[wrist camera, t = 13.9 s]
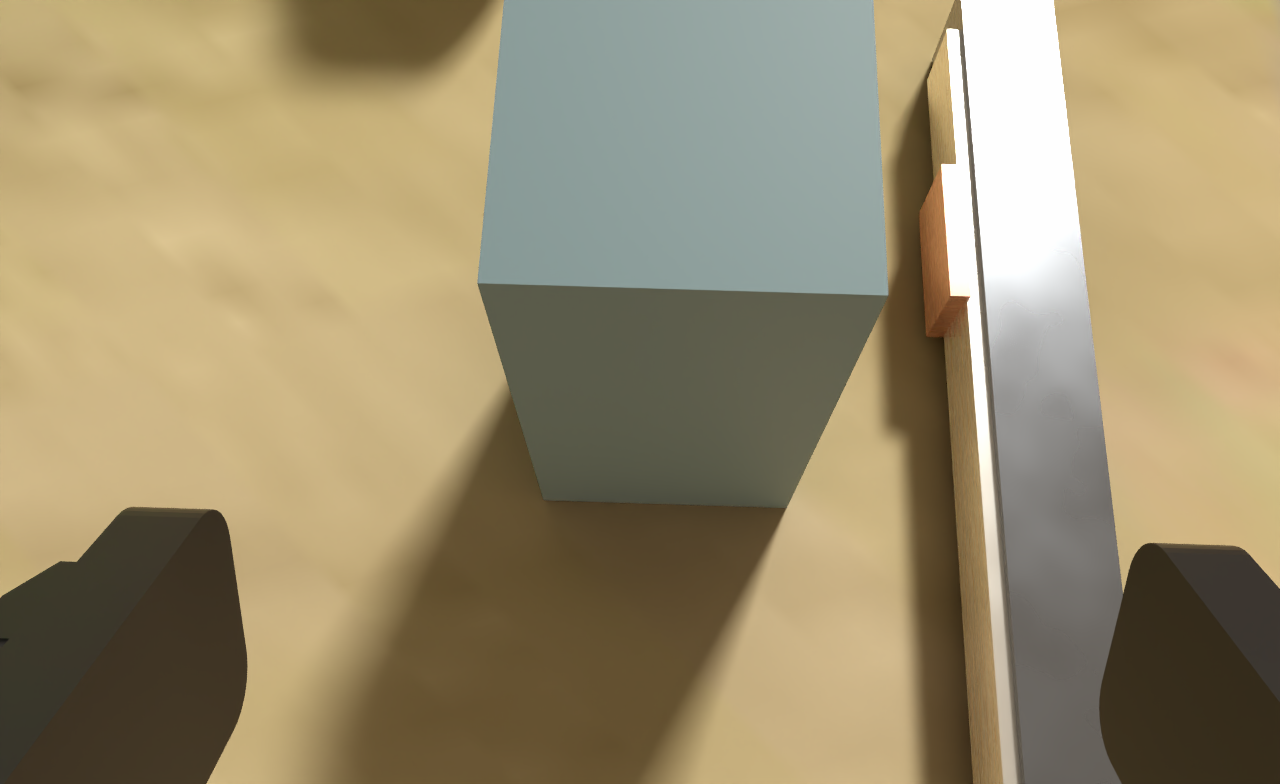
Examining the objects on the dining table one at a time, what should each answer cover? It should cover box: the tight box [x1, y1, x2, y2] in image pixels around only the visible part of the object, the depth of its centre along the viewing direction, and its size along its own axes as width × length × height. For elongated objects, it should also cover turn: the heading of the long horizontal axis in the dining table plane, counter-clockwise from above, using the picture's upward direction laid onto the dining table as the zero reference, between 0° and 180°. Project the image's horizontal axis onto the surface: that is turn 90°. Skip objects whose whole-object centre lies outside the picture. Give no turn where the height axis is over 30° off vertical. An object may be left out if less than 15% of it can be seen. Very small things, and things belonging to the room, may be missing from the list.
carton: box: [478, 0, 888, 508], centre depth 19 cm, size 5×4×10 cm
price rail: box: [919, 0, 1123, 784], centre depth 22 cm, size 18×3×2 cm, turn 178°
